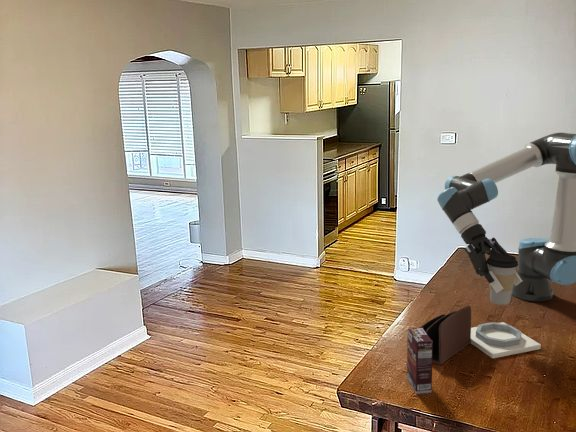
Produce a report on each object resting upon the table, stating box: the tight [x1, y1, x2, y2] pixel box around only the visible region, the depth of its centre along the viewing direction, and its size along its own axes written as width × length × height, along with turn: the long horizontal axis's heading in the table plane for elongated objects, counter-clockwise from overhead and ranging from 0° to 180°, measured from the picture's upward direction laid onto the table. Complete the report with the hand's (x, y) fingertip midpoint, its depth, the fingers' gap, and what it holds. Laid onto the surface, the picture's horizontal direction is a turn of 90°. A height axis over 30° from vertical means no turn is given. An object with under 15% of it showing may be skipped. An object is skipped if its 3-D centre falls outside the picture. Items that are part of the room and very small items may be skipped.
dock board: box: [470, 321, 542, 359], centre depth 174 cm, size 18×18×4 cm
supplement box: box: [406, 327, 433, 395], centre depth 149 cm, size 9×5×16 cm, turn 5°
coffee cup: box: [486, 253, 518, 306], centre depth 170 cm, size 9×9×15 cm
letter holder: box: [419, 305, 472, 366], centre depth 169 cm, size 10×20×14 cm, turn 135°
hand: (509, 287), depth 167 cm, fingers closed on coffee cup, 9 cm apart
